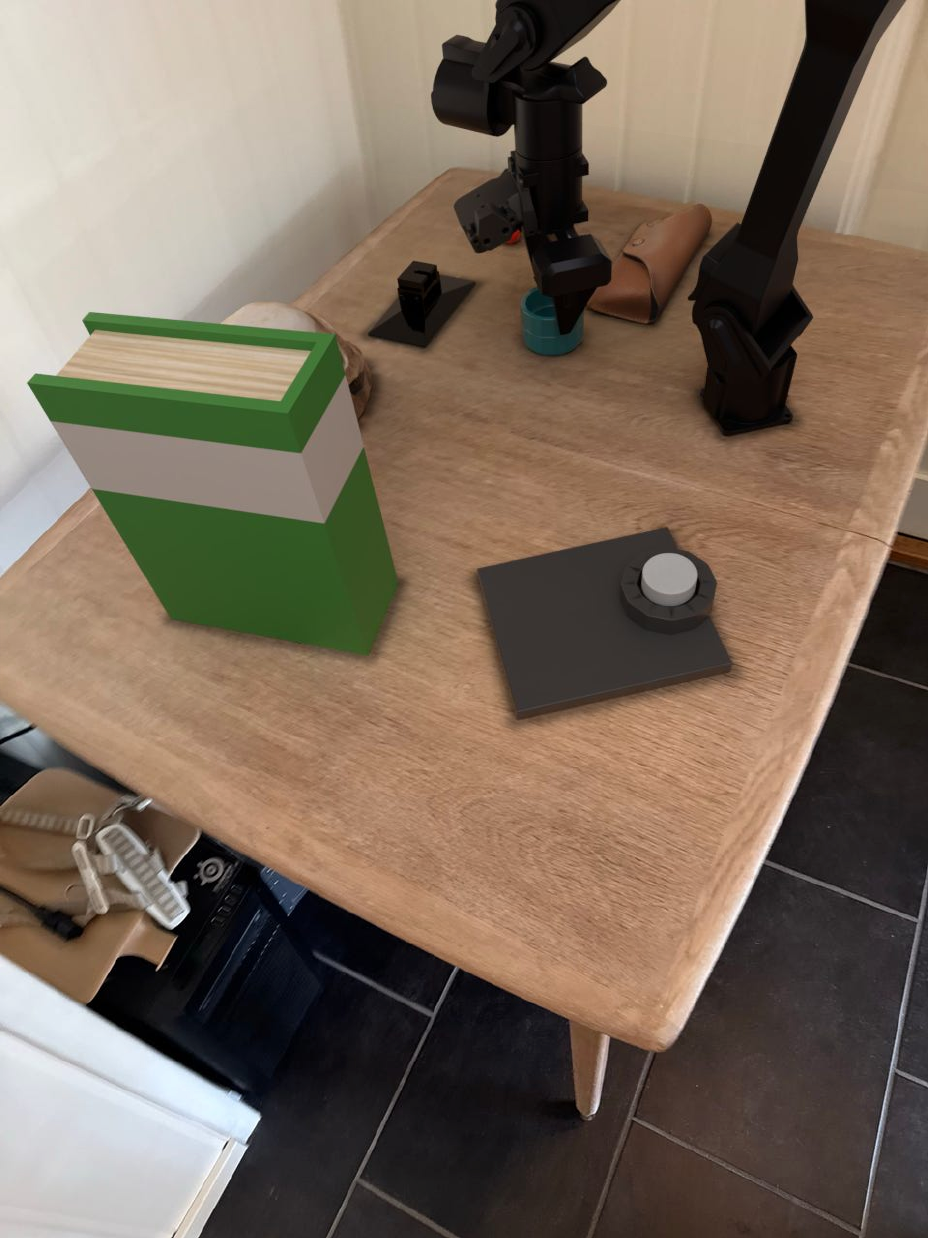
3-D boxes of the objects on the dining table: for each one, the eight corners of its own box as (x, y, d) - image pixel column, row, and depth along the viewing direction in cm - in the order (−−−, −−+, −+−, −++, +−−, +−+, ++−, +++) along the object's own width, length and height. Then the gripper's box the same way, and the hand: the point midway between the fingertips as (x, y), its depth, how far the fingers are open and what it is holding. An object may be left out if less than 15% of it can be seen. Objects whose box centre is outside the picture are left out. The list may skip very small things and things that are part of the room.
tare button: (684, 561, 67) (686, 547, 66) (703, 600, 65) (705, 587, 64) (634, 572, 67) (635, 559, 66) (651, 612, 65) (652, 599, 64)
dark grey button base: (677, 533, 73) (680, 508, 70) (743, 669, 64) (749, 646, 62) (477, 577, 72) (474, 553, 70) (517, 721, 63) (514, 699, 61)
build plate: (424, 350, 92) (418, 311, 88) (365, 337, 94) (356, 298, 90) (476, 283, 98) (472, 244, 94) (419, 273, 100) (413, 234, 97)
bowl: (574, 316, 92) (574, 277, 89) (590, 351, 88) (591, 311, 85) (516, 328, 92) (514, 290, 88) (531, 363, 88) (529, 324, 85)
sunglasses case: (638, 219, 101) (671, 173, 95) (686, 256, 102) (722, 213, 96) (581, 308, 92) (614, 262, 86) (634, 347, 93) (670, 305, 87)
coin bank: (368, 351, 92) (336, 239, 80) (388, 475, 83) (356, 369, 71) (222, 383, 92) (170, 276, 81) (227, 510, 83) (169, 410, 72)
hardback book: (170, 618, 73) (26, 382, 54) (210, 552, 77) (89, 311, 58) (368, 655, 68) (287, 413, 49) (398, 583, 72) (335, 334, 53)
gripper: (437, 117, 80) (456, 273, 92) (478, 217, 69) (493, 380, 81) (555, 93, 81) (558, 252, 93) (616, 189, 69) (610, 355, 81)
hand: (552, 306), depth 87 cm, fingers open, 9 cm apart
